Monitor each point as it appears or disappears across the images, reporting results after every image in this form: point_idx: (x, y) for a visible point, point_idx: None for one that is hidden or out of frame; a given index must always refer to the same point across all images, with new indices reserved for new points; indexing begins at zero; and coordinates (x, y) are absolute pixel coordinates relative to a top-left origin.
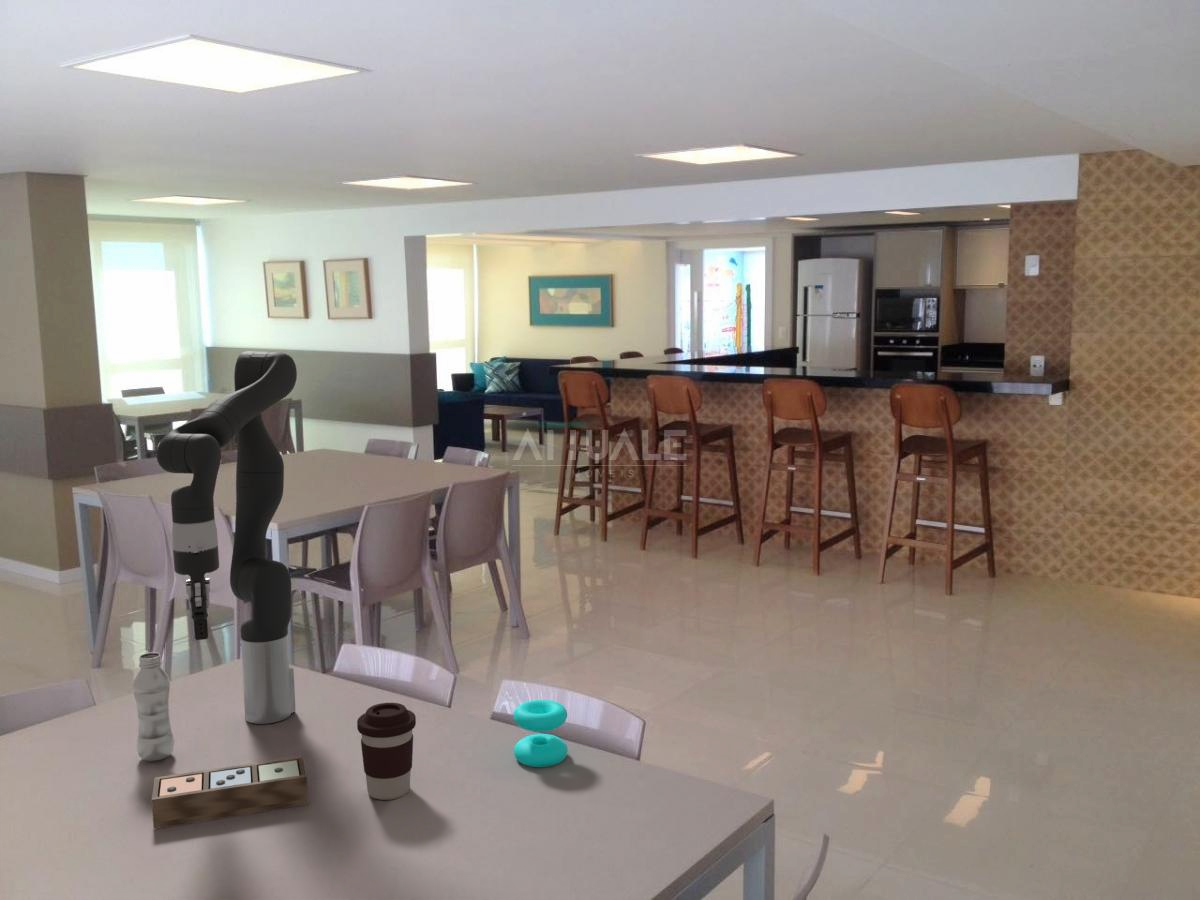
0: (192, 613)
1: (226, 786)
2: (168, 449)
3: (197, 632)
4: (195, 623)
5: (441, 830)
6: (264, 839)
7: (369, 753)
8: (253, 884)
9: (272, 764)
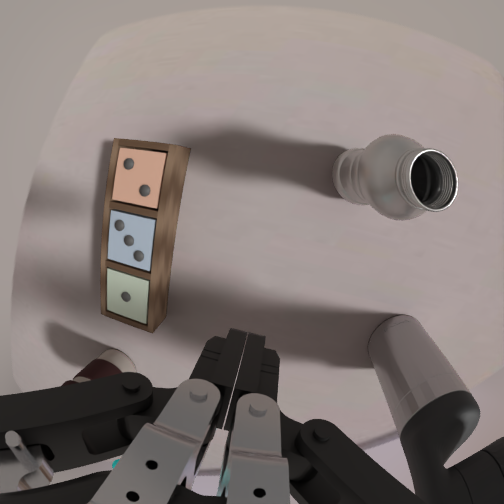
0: (68, 386)
1: (109, 229)
2: None
3: (204, 350)
4: (212, 375)
5: (59, 354)
6: (72, 242)
7: (81, 371)
8: (27, 216)
9: (145, 296)
